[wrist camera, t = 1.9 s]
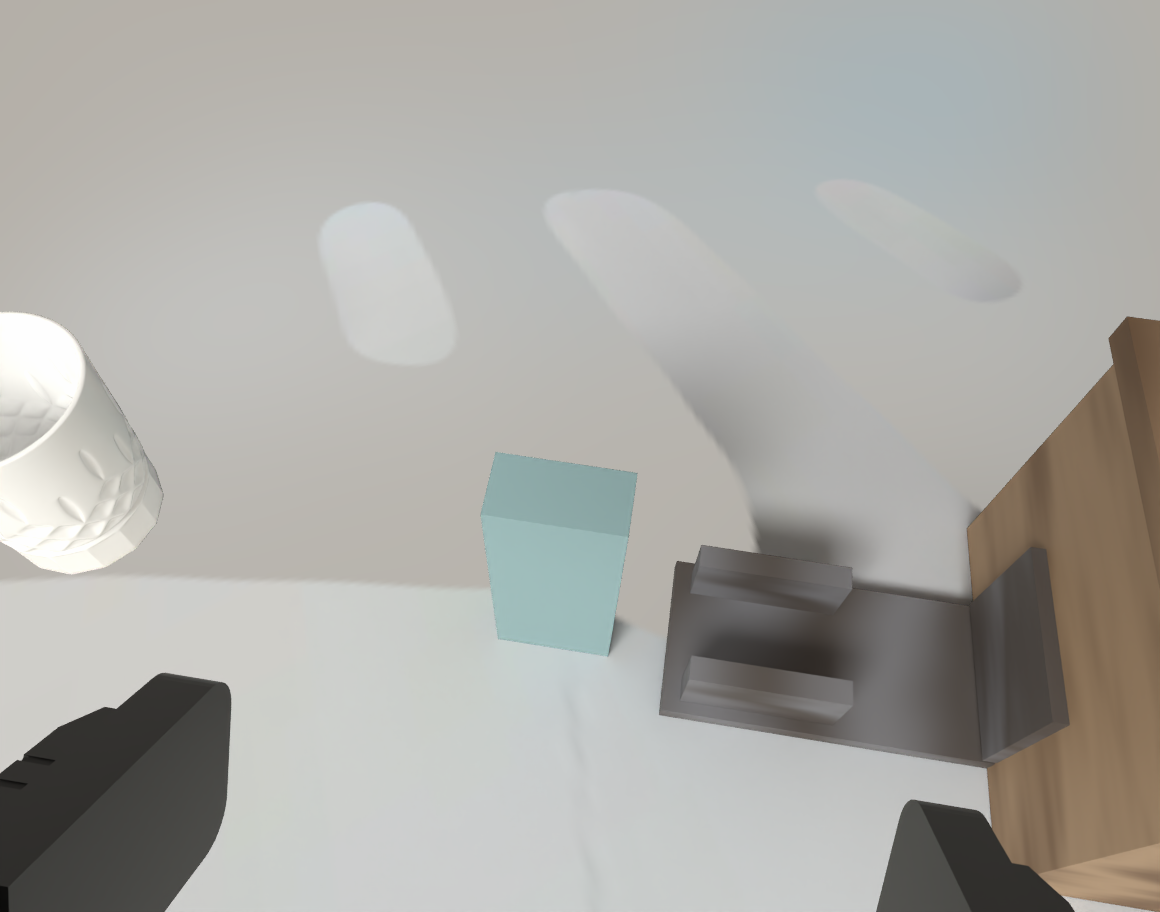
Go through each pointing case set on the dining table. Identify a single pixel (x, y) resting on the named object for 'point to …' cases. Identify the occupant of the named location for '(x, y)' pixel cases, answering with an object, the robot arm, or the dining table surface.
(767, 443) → the dining table surface
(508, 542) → the tall teal block
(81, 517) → the white cup
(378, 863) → the dining table surface
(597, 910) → the dining table surface
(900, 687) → the hinge cabinet
